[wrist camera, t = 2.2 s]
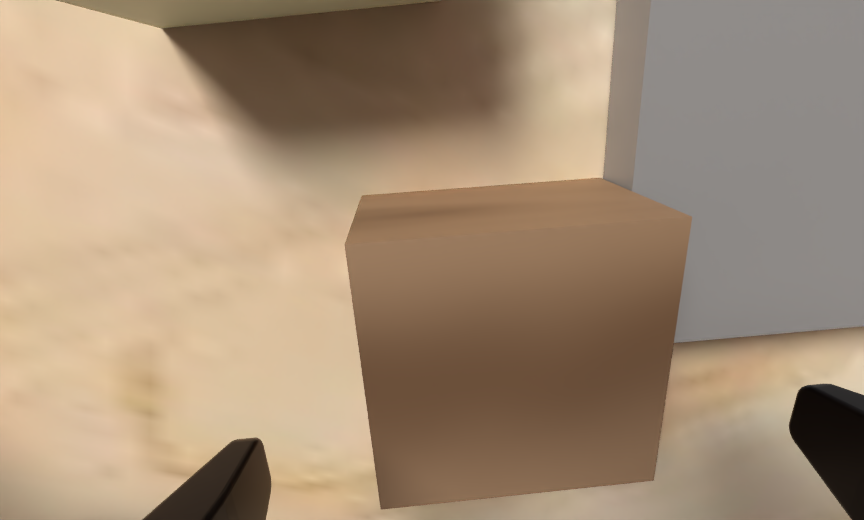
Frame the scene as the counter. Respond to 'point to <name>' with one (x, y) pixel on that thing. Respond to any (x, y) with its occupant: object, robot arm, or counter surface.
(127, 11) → the sage block
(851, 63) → the plate
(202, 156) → the counter surface
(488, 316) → the walnut block
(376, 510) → the counter surface
